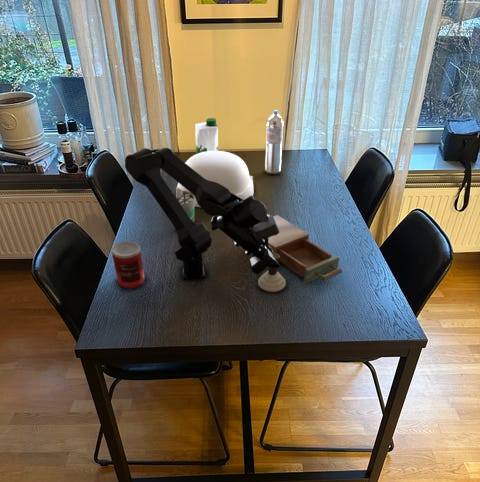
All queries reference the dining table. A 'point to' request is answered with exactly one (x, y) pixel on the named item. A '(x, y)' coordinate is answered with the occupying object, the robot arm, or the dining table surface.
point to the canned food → (128, 264)
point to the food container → (188, 203)
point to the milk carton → (206, 136)
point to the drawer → (309, 260)
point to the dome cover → (221, 172)
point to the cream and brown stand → (272, 279)
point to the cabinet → (285, 234)
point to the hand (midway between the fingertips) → (278, 264)
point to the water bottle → (274, 144)
